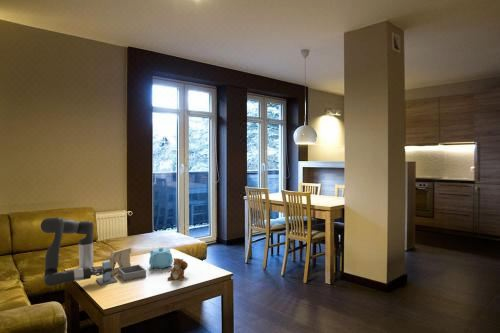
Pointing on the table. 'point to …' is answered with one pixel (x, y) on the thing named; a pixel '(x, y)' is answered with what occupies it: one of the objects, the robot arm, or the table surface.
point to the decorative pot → (160, 258)
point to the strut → (108, 274)
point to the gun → (120, 259)
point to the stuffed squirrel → (178, 269)
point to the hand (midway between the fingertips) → (110, 268)
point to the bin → (131, 272)
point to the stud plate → (102, 282)
